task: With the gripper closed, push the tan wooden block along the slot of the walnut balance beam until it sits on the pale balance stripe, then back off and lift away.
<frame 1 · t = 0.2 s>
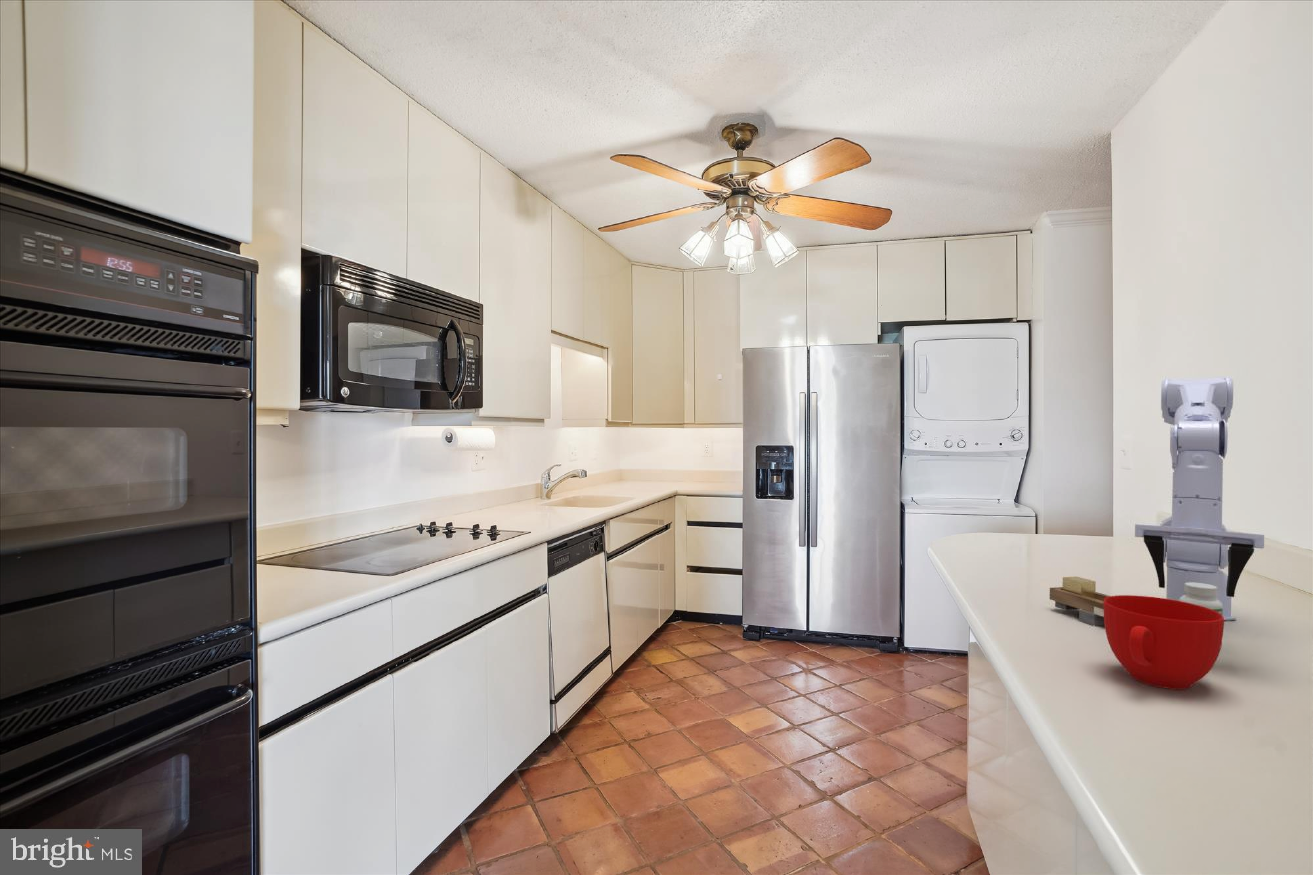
hand: (1195, 592, 94), 10 cm above the worktop, tool pointing down, fingers open, 7 cm apart
tan wooden block: (1078, 587, 118), point 5 cm above the worktop, slide at 0.0 cm
ceramic cup: (1154, 684, 86), on the worktop
beam: (1102, 622, 113), on the worktop
supplement bottle: (1199, 645, 102), on the worktop
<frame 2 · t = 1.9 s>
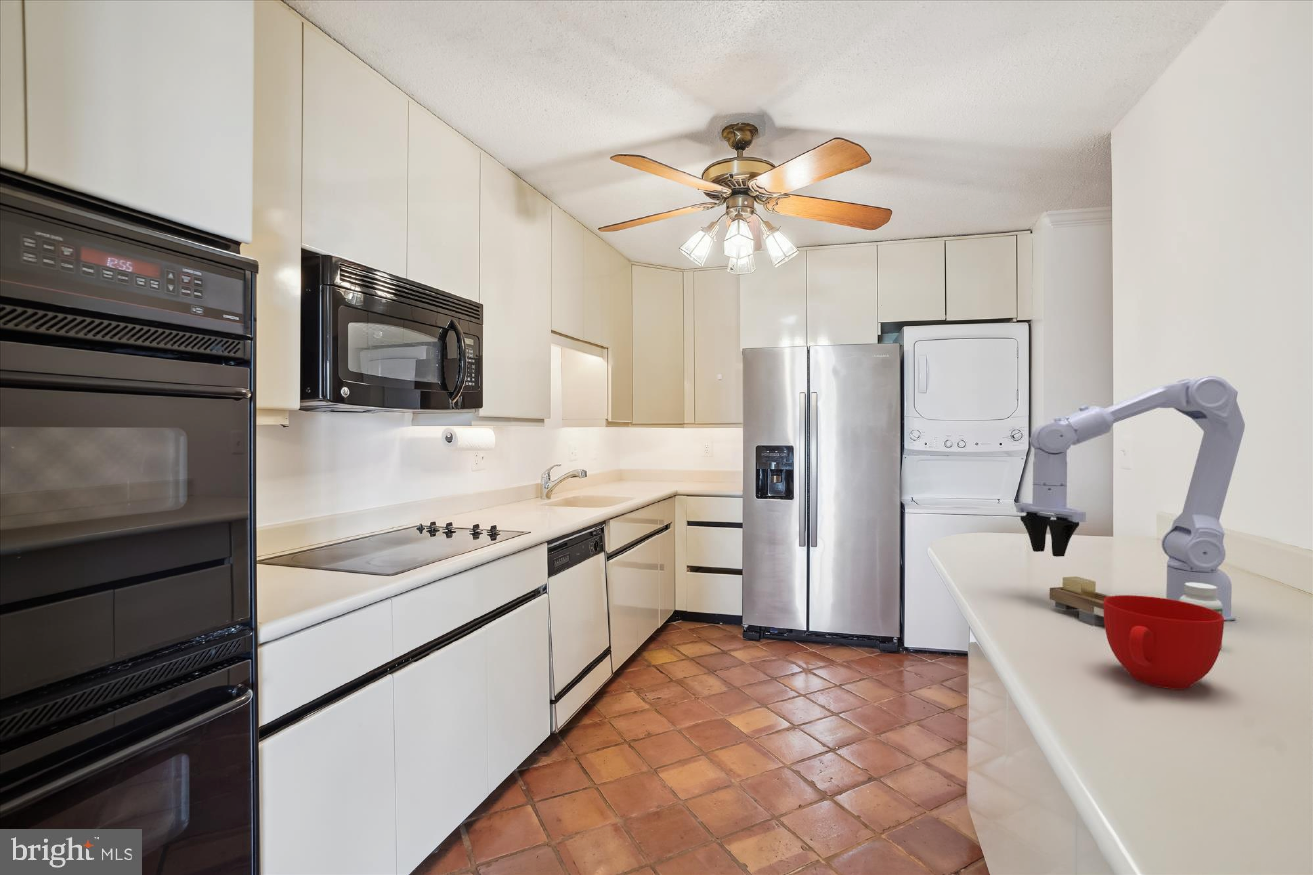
hand: (1048, 553, 125), 10 cm above the worktop, tool pointing down, fingers open, 4 cm apart
nothing on the worktop moved.
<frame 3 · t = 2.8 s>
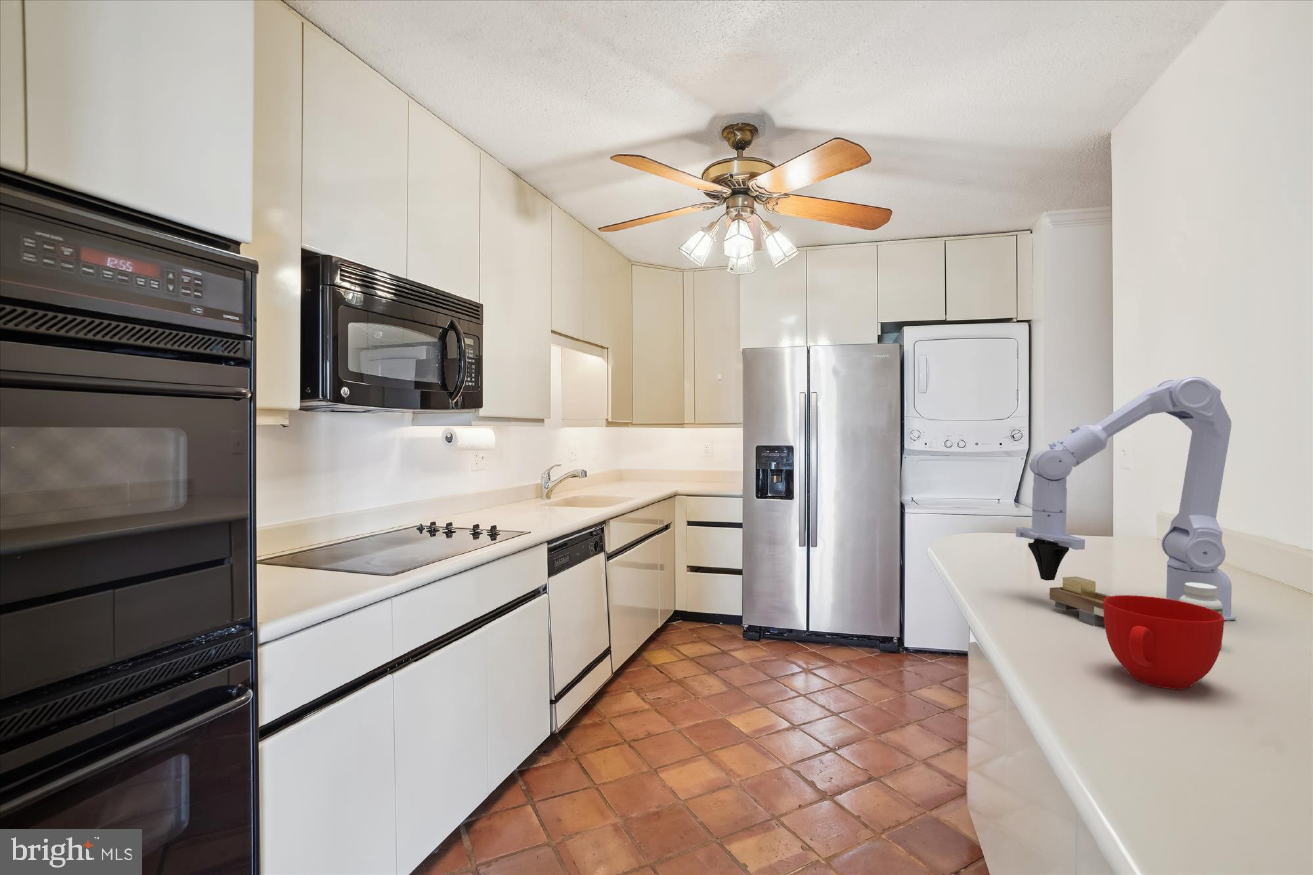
hand: (1047, 579, 125), 5 cm above the worktop, tool pointing down, fingers closed
nothing on the worktop moved.
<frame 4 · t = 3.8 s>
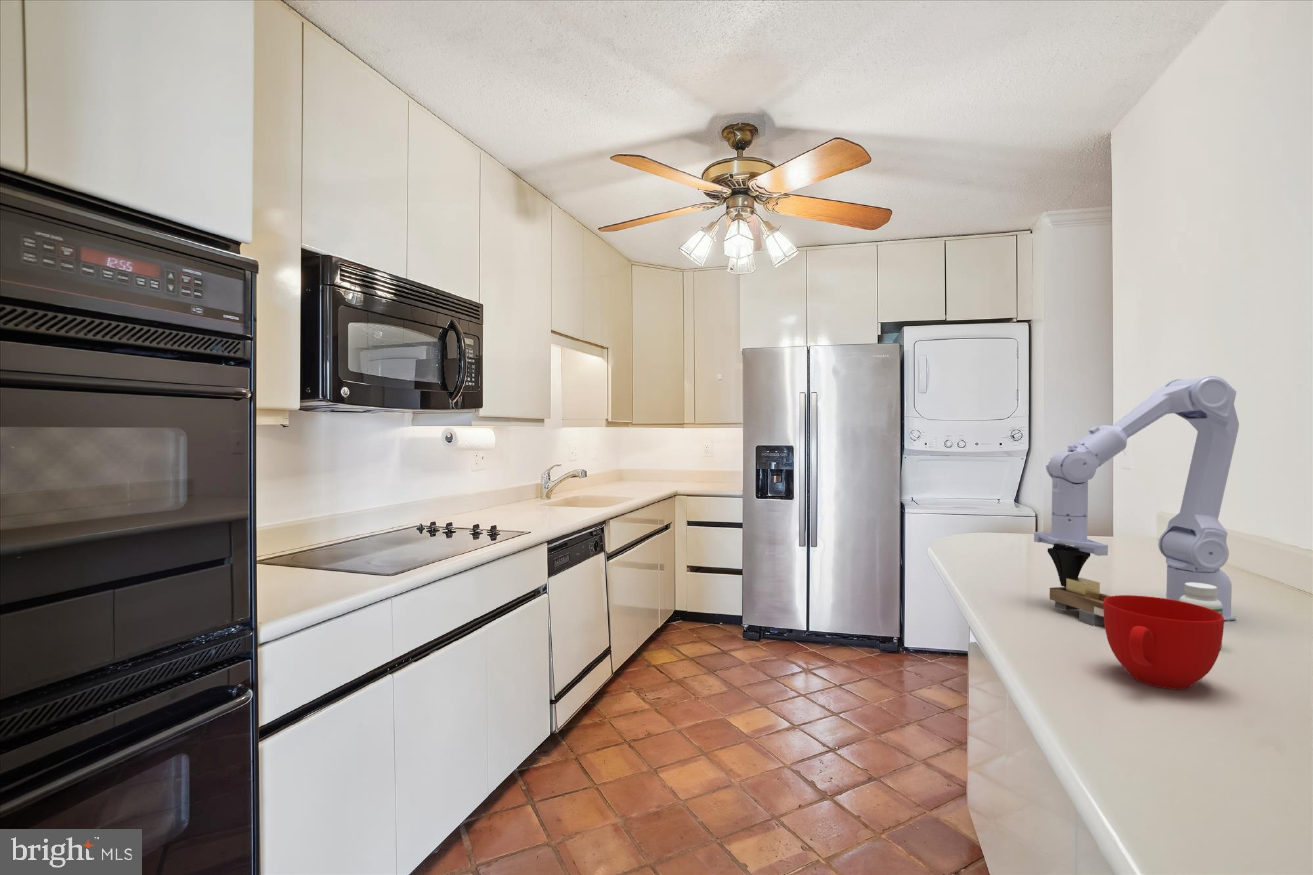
hand: (1068, 586, 121), 5 cm above the worktop, tool pointing down, fingers closed
tan wooden block: (1082, 588, 117), point 5 cm above the worktop, slide at 0.8 cm, touching gripper
everything else where it was.
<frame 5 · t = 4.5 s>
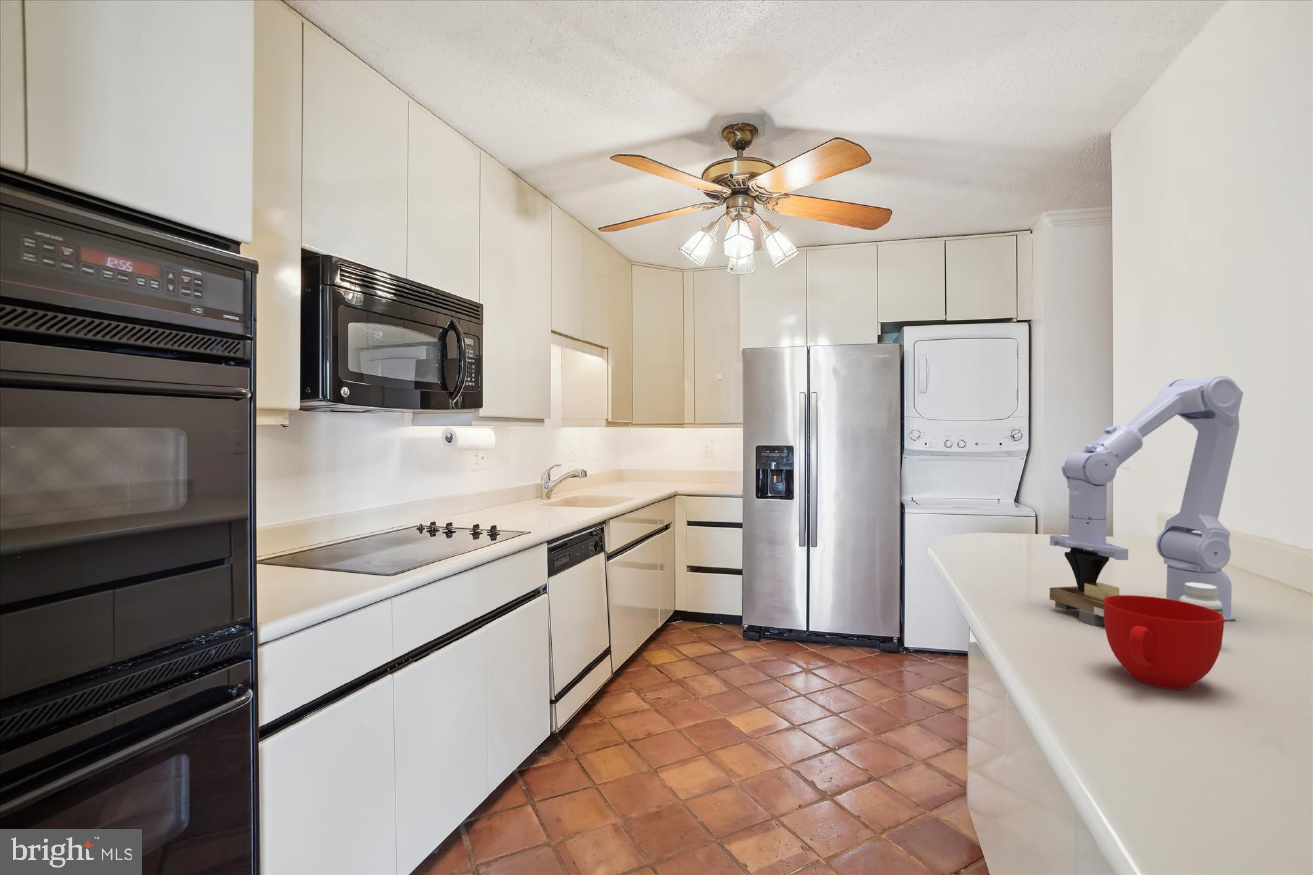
hand: (1085, 591, 117), 5 cm above the worktop, tool pointing down, fingers closed
tan wooden block: (1101, 594, 114), point 5 cm above the worktop, slide at 4.7 cm, touching gripper
everything else where it was.
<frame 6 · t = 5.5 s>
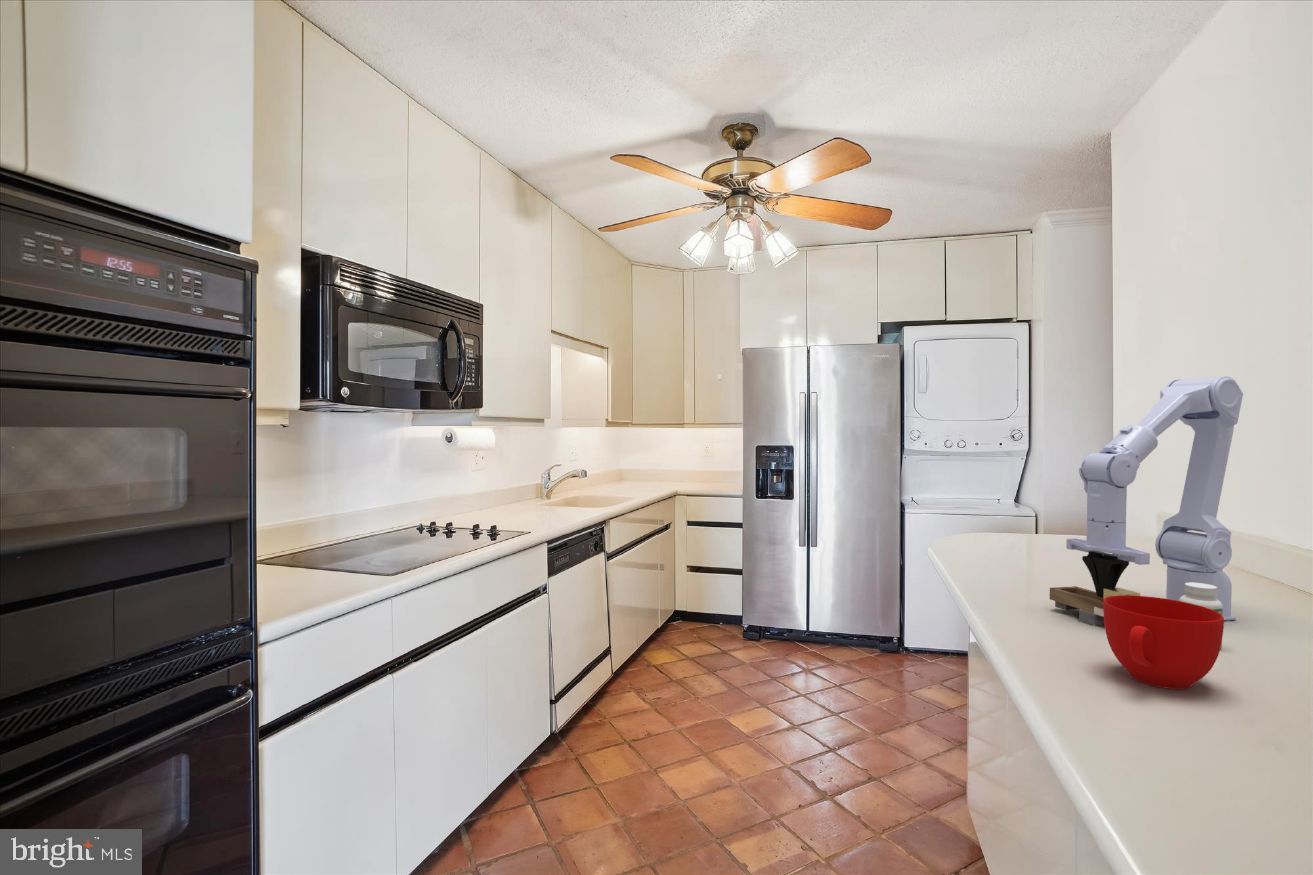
hand: (1104, 596, 113), 5 cm above the worktop, tool pointing down, fingers closed
tan wooden block: (1121, 599, 110), point 5 cm above the worktop, slide at 8.5 cm, touching gripper
everything else where it was.
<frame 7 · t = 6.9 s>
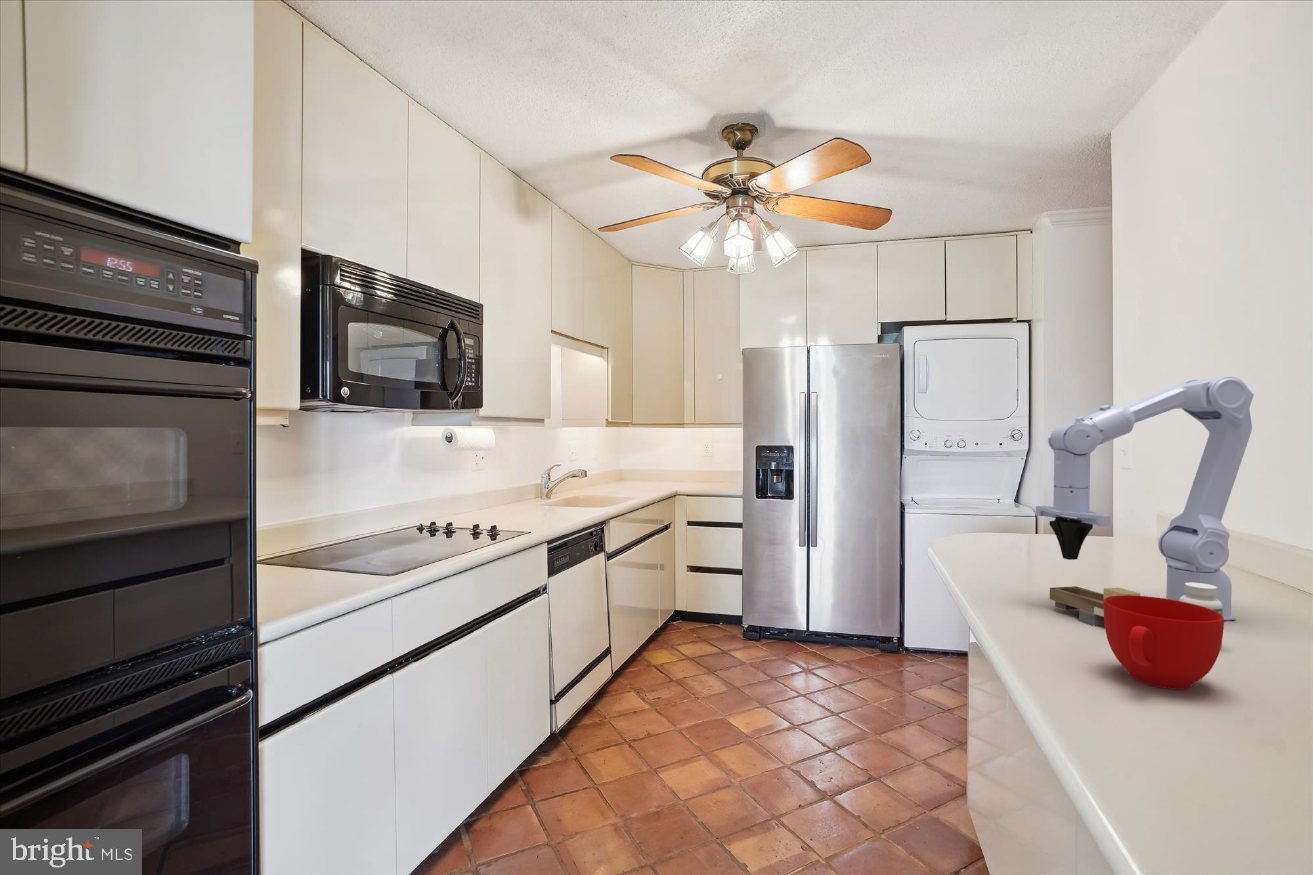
hand: (1070, 558, 120), 10 cm above the worktop, tool pointing down, fingers closed
tan wooden block: (1121, 599, 110), point 5 cm above the worktop, slide at 8.5 cm
everything else where it was.
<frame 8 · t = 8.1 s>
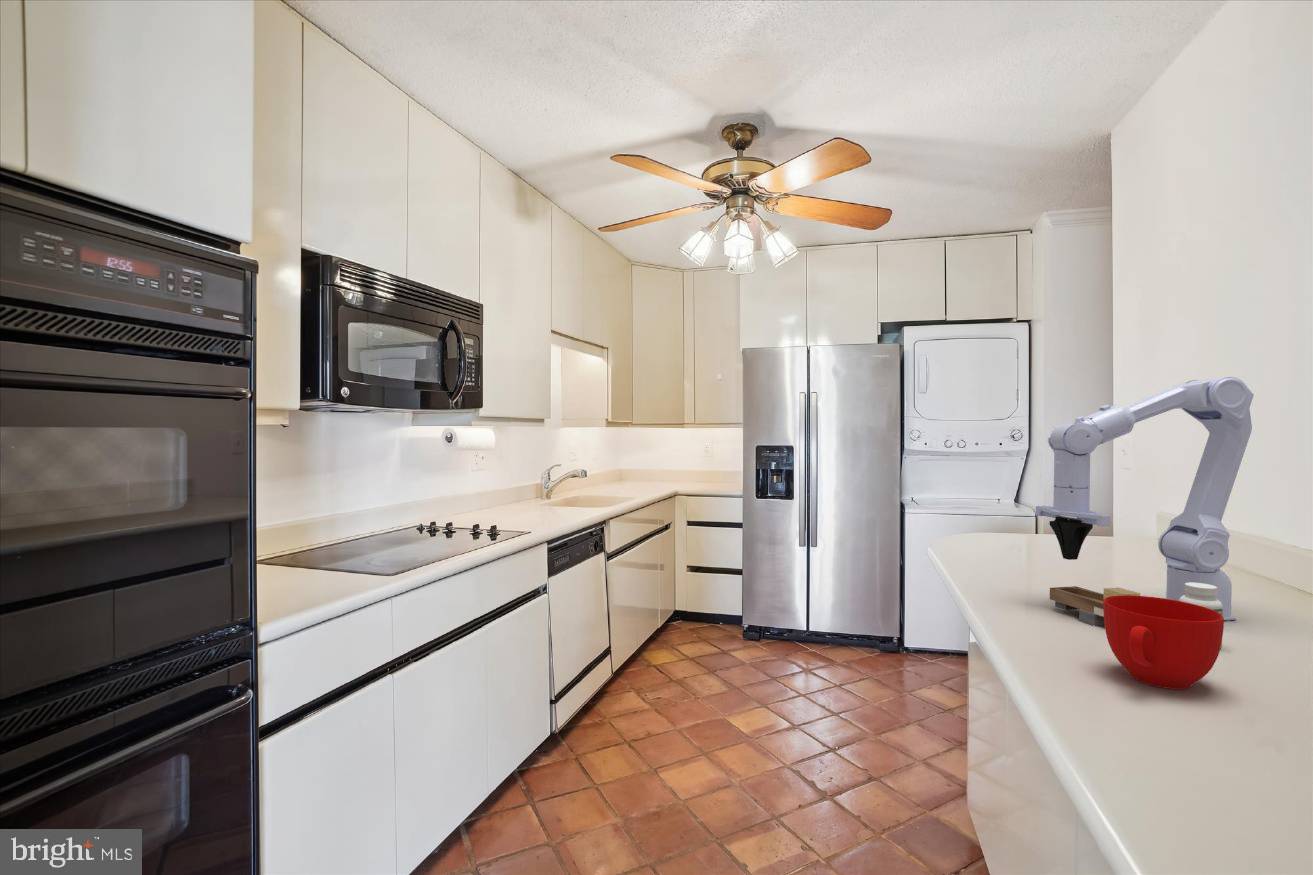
hand: (1070, 558, 120), 10 cm above the worktop, tool pointing down, fingers closed
nothing on the worktop moved.
at the end: tan wooden block slide at 8.5 cm; tan wooden block 0.2 cm from the target spot, resting on beam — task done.
